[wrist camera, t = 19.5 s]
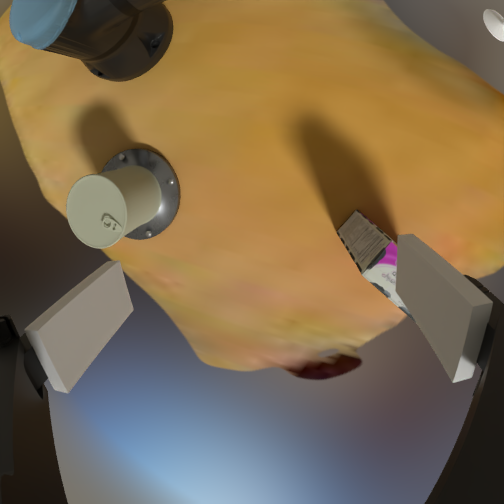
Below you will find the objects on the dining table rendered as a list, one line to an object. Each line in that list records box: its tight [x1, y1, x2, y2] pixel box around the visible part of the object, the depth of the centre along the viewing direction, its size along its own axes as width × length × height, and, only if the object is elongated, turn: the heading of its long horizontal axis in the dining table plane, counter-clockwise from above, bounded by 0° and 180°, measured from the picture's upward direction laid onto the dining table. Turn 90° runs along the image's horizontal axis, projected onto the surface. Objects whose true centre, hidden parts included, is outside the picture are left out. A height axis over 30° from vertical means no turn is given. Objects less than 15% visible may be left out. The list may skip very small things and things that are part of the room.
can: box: [66, 165, 161, 248], centre depth 39 cm, size 9×9×12 cm
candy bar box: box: [337, 210, 416, 322], centre depth 37 cm, size 11×5×16 cm, turn 53°
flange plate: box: [101, 149, 180, 240], centre depth 45 cm, size 14×14×1 cm
